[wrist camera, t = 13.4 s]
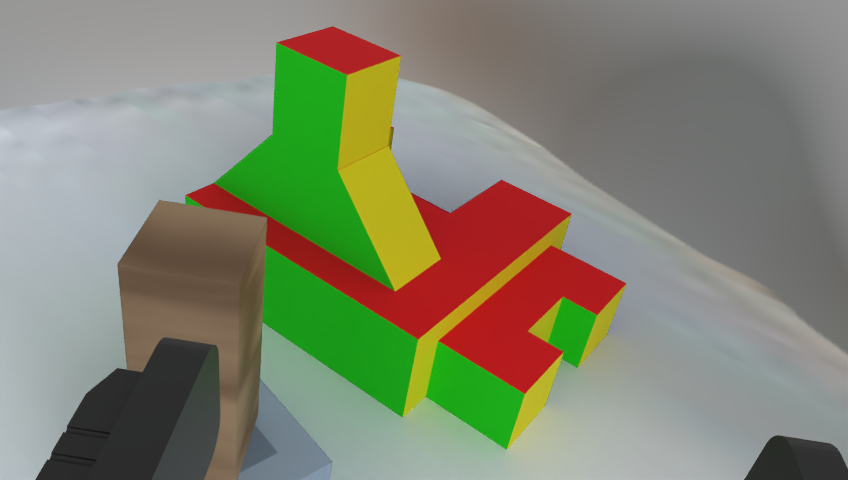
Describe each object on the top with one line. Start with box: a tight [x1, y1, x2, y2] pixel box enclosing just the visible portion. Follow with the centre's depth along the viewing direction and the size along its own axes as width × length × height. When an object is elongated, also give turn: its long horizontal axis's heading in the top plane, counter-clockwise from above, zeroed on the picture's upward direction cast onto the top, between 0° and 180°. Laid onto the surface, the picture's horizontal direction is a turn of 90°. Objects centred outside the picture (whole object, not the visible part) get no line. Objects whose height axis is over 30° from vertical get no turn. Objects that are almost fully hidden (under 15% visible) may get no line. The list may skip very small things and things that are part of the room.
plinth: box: [238, 379, 332, 480], centre depth 38 cm, size 9×9×4 cm
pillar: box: [118, 200, 267, 480], centre depth 33 cm, size 4×4×12 cm
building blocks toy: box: [185, 27, 626, 449], centre depth 50 cm, size 19×25×18 cm
